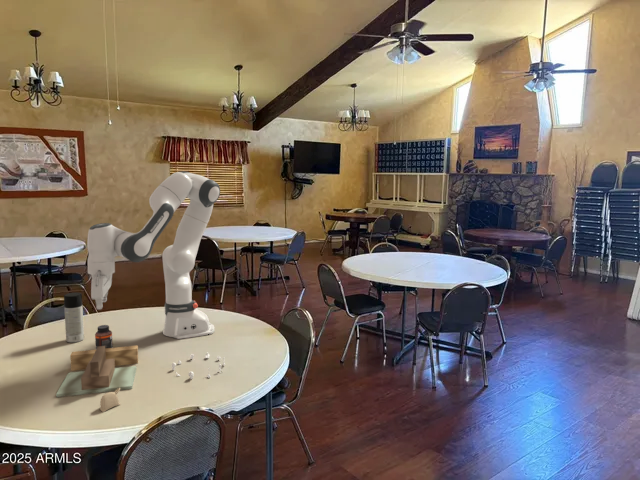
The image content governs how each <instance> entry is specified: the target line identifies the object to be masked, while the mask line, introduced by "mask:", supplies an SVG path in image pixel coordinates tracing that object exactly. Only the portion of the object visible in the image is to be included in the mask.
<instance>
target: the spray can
mask: <svg viewBox="0 0 640 480" xmlns="http://www.w3.org/2000/svg"><path fill="white" fill-rule="evenodd" d="M63 304H64V305H63V306H64V321H65V322H64V323H65V325H64V326H65V340H66V342H67V343H79V342H81V341H83V340H84V338H85V333H84V332H85V329H84V328H85V327H84V315H83V314H84V310H83V307H84V306H83V296H82V292H69V293H66V294H64V295H63Z"/></svg>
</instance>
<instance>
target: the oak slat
mask: <svg viewBox="0 0 640 480" xmlns="http://www.w3.org/2000/svg"><path fill="white" fill-rule="evenodd" d="M95 351H96V349H89V350H87V349H86V350H78V351H71V354H70V371H71V372H77V371H82V370H83V371H85V369H86V367H87V365H88V363H89V361H91V360H92V358H93V355H94V353H95ZM105 351H106V359H115V367H117V366H118V367H119V366H126V365H127V366H128V365H134V364H135V365H137V364H139V346H138V345H129V346H128V345H127V346H117V347H113V348H106V349H105Z"/></svg>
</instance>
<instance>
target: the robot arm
mask: <svg viewBox="0 0 640 480" xmlns="http://www.w3.org/2000/svg"><path fill="white" fill-rule="evenodd" d="M220 195H221V187H220V185H219V184H218V182H217V181H214V180H213V179H210V178H208V177H205V175H204V176H203V175H201V174H197V173H192V172H189V171H177V172H174V173H172V174H170V175H169V176H167V178H166V179H164V180H163V181H162V182H161V183H160V184H158V186H157V187H156V188H155V189H154V190H153V191H152V193H151V195H150V197H148V198H149V206H150V208H151V210H152V216H151V217H150V218H149V220H148V221H147V222H146V223H145V225H143V227H142V228H141V229H140V231H138V232H134V233H133V232H131V231H126V230H123V229H121V228H118V227H116V226H114V225H113V224H112V223H109V222H103V223H102V222H101V223H97V224H93V225H92V226H90V228H88V232H87V245H86V247H87V252H88V257H87V274H88V275H91V283H90V284H91V285H90V286H91V287H90V289H91V290H90V296H91V297H90V298H91V300H95V306H96V310H102V309H103V307H104V306H103V303H106V302H107V301H108V294H109V290H110V289H111V286H112V282H113V274H115V273H116V263H115V262H116V259H115V258H116V257H121V258H124V259H126V260H129V261H130V262H133V263H140V262H144V261H145V260H147V258H149V257H150V254H151V253H152V251H153V248H154V245H155V243H156V242H157V240H158V238H159V236H161V234H162V233H163V232H164V230H165V229H166V227H167V226H168V224H169V222H170V221H171V220H172V219H173V216H174V213H175V212H176V211H177V209H178V208H179V207H180V206H181V204H182V203H183V202H184V201H185V200H186V199H188V200H189V204H188V205H187V207H186V209H185V210H184V213H183V215H182V218H181V220H180V222H179V223H178V226H177V229H176V233H175V237H174V241H173V244H171V245H168V246H167V247H165V249H164V250H163V252H162V254H161V255H162V256H161V257H162V268H163V269H162V270H163V276H164V277H163V278H164V284H165V302H164V315H165V319H164V326H163V330H162V335H164V336H166V337H170V338H174V339H177V340H179V339H180V340H182V339H189V338H194V337H202V336H206V335H207V336H208V334H209V335H212V334H214V332H215V330H216V329H215V325H214V324H213V323H211V322H210V320H209V317H208V315H207V314H206V313H205V312H203V311H201V310H200V309H199V308H198V307H199V305H198V303H197V302H196V300H193V299H192V297H193V296H192V293H193V292H192V281H191V276H190V273H191V271H192V270H193V269H194V267H195V263H196V257H197V254H198V251H199V247H200V243H201V240H202V238H203V235H204V233H205V231H206V229H207V227H208V224H209V222H210V219H211V216H212V213H213V208H214V204H215V203H216V202H217V201H218V199H219V198H220Z"/></svg>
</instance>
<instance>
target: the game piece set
mask: <svg viewBox="0 0 640 480" xmlns="http://www.w3.org/2000/svg"><path fill="white" fill-rule="evenodd" d="M195 355H196V354H195ZM195 355H194V354H193V353H191V354H190V355H189V356H190V359H193V358H194V357H195ZM210 356H211V355H210V353H209V352H206V354H205V355H204V359H210ZM225 358H226V357H224V356H223V357H221V356H220V355H217V356H216V360H217V359H218V360H219V359H221V360H222V359H223V361H225ZM177 365H182V361H181V359H179V360H178V361H177V363H176V362H172V363H171V370H172V371H175V370H176V366H177ZM224 365H225V366H226V363H225V362H223V364H221V363H218V369H217V370H218V371H221V370H222V368H221V367H222V366H223V367H225V366H224ZM208 370H210V367H208ZM218 371H217V372H218ZM217 372H216V373H217ZM187 374H188V377H189V379H190V380H193V378H194V375H195V373H194V372H193V371H189V373H187ZM175 375H176V377H178V376H180V377H181V375H180V374H179V373H178V372H177V371H175ZM207 377H208V378H210V377H212V375H211V374H210V373H208V375H206V378H207ZM208 378H207V379H208Z"/></svg>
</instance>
